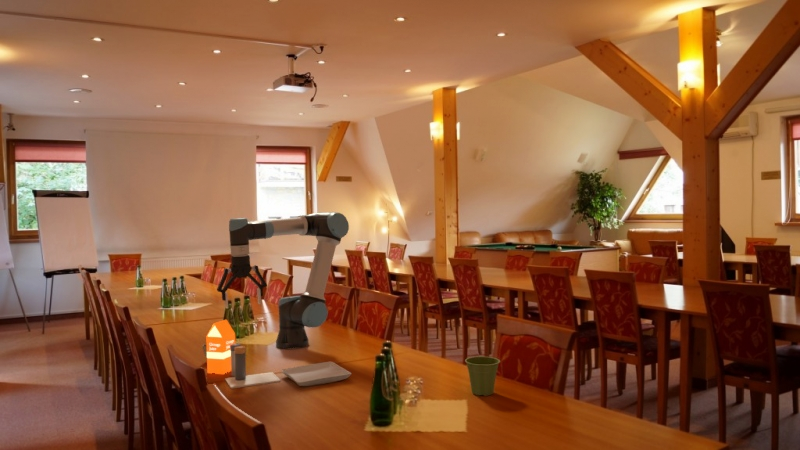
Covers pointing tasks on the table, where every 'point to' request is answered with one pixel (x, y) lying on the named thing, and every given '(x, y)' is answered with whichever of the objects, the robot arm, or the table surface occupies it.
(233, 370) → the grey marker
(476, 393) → the plant pot
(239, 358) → the marker
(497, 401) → the table surface
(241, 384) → the paper
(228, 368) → the orange juice
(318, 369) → the salad plate
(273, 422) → the table surface
